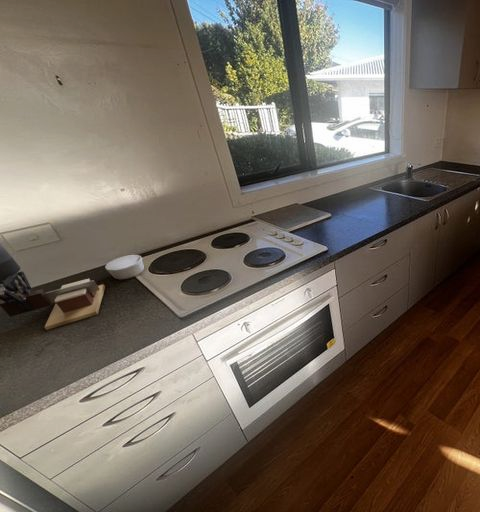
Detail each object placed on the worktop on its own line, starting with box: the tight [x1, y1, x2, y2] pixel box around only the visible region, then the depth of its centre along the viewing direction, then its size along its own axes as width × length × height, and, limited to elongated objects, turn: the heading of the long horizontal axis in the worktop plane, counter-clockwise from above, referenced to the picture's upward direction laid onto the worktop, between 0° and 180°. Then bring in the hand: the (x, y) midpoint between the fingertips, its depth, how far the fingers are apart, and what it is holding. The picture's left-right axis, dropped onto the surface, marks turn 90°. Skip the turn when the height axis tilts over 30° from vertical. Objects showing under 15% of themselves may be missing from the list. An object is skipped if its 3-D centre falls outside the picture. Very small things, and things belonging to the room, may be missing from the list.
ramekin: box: [104, 254, 145, 280], centre depth 113 cm, size 11×11×5 cm
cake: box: [60, 278, 96, 298], centre depth 98 cm, size 7×5×5 cm
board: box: [44, 284, 106, 331], centre depth 97 cm, size 12×18×1 cm, turn 34°
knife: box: [0, 279, 100, 317], centre depth 92 cm, size 21×3×5 cm, turn 124°
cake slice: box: [55, 288, 94, 313], centre depth 94 cm, size 7×3×5 cm, turn 124°
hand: (30, 307), depth 90 cm, fingers closed on knife, 2 cm apart
